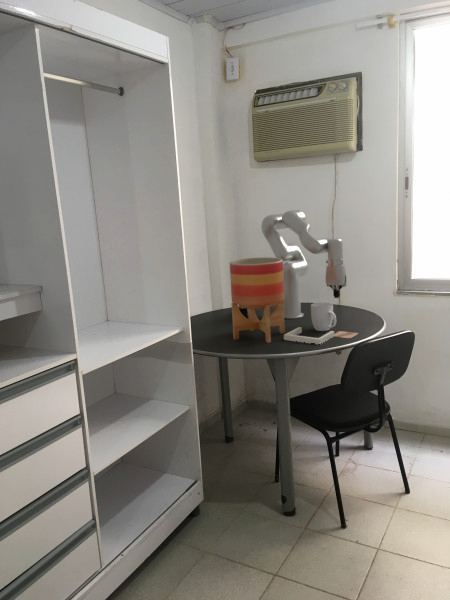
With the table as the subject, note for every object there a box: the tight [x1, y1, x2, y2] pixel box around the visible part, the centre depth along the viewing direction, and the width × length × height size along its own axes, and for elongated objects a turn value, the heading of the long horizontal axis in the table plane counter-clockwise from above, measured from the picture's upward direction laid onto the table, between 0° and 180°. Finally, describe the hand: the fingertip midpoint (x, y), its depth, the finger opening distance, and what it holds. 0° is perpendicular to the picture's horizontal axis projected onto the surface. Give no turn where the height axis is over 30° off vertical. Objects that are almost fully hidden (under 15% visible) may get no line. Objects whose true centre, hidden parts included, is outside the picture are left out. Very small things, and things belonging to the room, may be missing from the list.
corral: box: [283, 326, 335, 345], centre depth 237 cm, size 19×16×2 cm
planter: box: [229, 256, 286, 344], centre depth 243 cm, size 27×27×38 cm
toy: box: [238, 306, 249, 319], centre depth 293 cm, size 12×7×30 cm
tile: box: [333, 330, 360, 339], centre depth 240 cm, size 10×10×1 cm
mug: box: [310, 302, 337, 332], centre depth 248 cm, size 15×11×13 cm
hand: (336, 297), depth 259 cm, fingers closed
